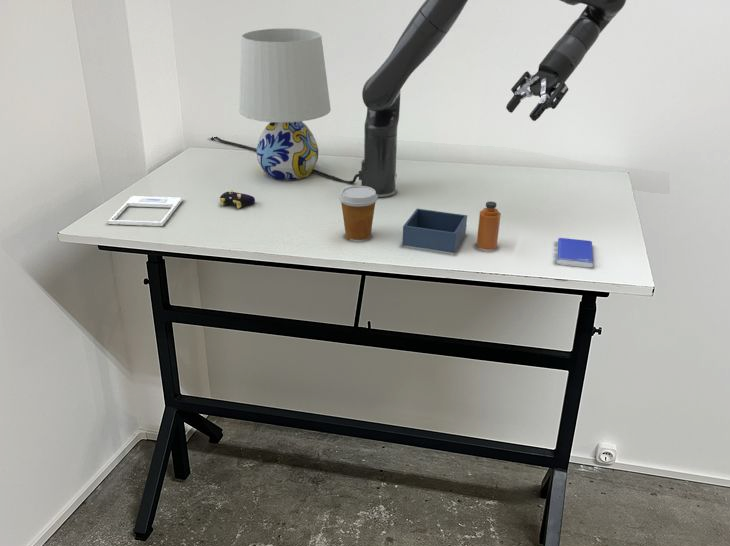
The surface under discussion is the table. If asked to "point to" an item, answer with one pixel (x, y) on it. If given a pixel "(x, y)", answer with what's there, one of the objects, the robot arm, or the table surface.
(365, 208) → the disposable coffee cup
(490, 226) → the bottle
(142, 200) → the photo frame
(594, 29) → the robot arm
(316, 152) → the table lamp
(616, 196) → the table surface
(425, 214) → the tote
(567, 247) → the blue book
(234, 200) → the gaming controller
